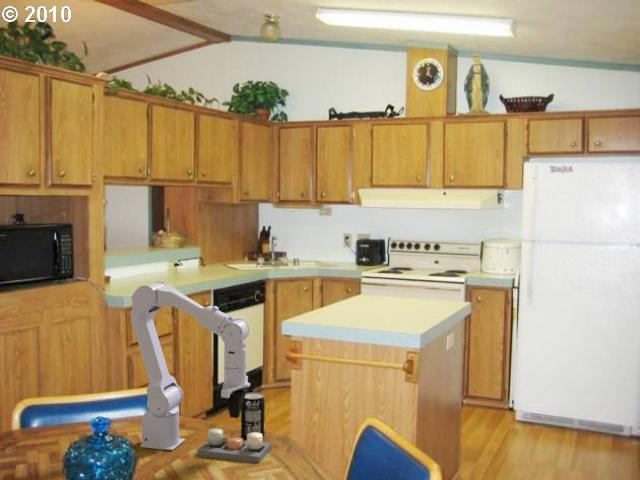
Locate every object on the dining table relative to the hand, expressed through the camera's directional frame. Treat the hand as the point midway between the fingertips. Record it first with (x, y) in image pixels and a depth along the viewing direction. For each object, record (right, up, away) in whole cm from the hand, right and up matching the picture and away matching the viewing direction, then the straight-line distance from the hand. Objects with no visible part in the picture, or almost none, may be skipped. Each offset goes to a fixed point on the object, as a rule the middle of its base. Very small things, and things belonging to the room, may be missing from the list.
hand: (234, 417), depth 176 cm
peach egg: (0, -9, 0) cm, 9 cm away
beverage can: (+4, -9, +11) cm, 15 cm away
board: (0, -9, 0) cm, 9 cm away
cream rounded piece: (+5, -7, -1) cm, 9 cm away
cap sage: (-5, -7, +2) cm, 9 cm away
